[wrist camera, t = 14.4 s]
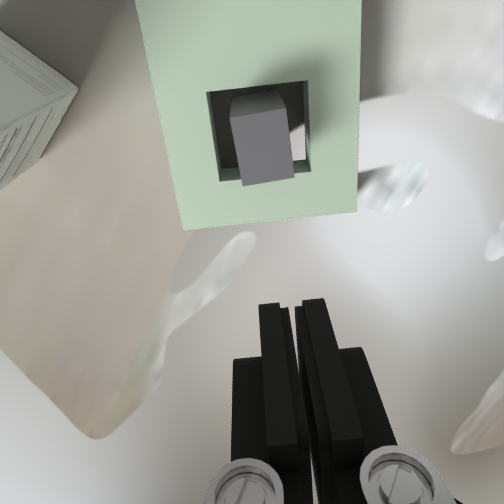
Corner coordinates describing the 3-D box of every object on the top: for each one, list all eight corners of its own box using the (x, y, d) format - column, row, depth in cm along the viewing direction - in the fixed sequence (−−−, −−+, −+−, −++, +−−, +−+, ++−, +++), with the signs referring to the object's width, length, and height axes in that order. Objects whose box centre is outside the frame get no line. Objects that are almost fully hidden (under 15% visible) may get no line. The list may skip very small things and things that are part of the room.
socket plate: (129, -73, 26) (117, -82, 24) (352, -102, 26) (364, -114, 23) (187, 214, 36) (183, 230, 34) (348, 197, 36) (356, 212, 33)
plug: (231, 97, 32) (229, 118, 26) (277, 89, 31) (286, 108, 25) (242, 155, 34) (242, 186, 28) (285, 147, 34) (294, 177, 28)
